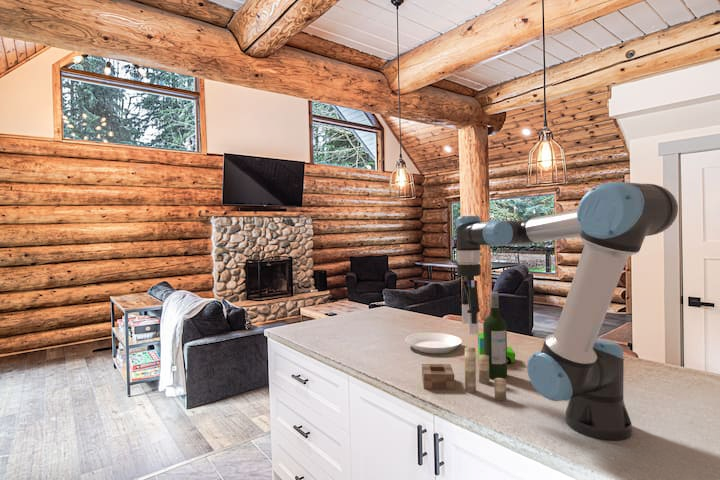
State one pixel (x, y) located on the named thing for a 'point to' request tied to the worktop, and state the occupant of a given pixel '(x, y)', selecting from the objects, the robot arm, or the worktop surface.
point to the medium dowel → (484, 369)
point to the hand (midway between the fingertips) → (469, 328)
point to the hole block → (438, 376)
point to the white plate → (433, 342)
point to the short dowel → (500, 389)
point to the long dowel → (470, 370)
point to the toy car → (481, 349)
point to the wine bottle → (495, 340)
